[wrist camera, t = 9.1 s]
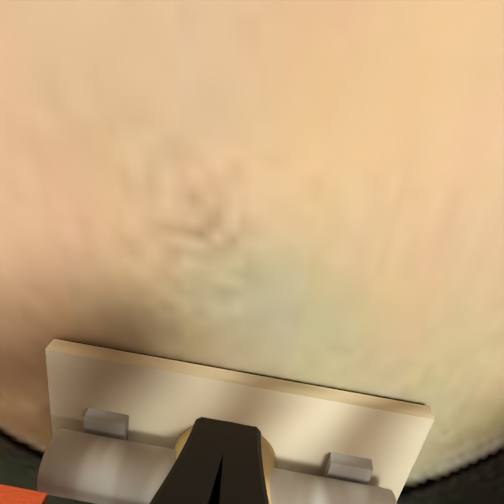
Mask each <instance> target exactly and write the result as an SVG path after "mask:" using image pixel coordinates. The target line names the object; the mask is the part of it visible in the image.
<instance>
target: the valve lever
mask: <svg viewBox="0 0 504 504" xmlns="http://www.w3.org/2000/svg"><path fill="white" fill-rule="evenodd" d="M0 504H48V496H47V493H43V492H38V491H33V490H27V489H22V488H17V487H12V486H7V485H1V484H0Z"/></svg>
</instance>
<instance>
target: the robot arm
mask: <svg viewBox="0 0 504 504" xmlns="http://www.w3.org/2000/svg"><path fill="white" fill-rule="evenodd" d="M149 504H269V500H268V495H267V489H266V483H265V476H264V469H263V461H262V451H261V431H260V430H259V429H258V428H257V427H255V426H249V425H244V424H238V423H233V422H227V421H222V420H216V419H211V418H205V417H200V418H198V419H196V420H195V423H194V425H193V428H192V430H191V432H190V435H189V437H188V439H187V441H186V443H185V445H184V447H183V449H182V450H181V452H180V454H179V456H178V458H177V460H176V461H175V463H174V465H173V466H172V468H171V470H170V472H169V473H168V475H167V477H166V478H165V480H164V481H163V483H162V484H161V486H160V488H159V489H158V491H157V492H156V494H155V495H154V497H153V499H152V500H151V502H150V503H149Z"/></svg>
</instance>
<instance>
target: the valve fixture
mask: <svg viewBox="0 0 504 504" xmlns="http://www.w3.org/2000/svg"><path fill="white" fill-rule="evenodd" d="M45 355H46V367H47V379H48V391H49V403H50V415H51V427H52V439H51V441H50V442H49V444H48V446H47V448H46V450H45V453H44V455H43V458H42V461H41V464H40V468H39V472H38V477H37V489H38V492H43V493H47V495H53V496H58V497H63V498H69V499H74V500H79V501H85V502H90V503H95V504H149V503H150V502H151V500H152V499H153V497H154V495H155V494H156V492H157V491H158V489H159V488H160V486H161V484H162V483H163V481H164V480H165V478H166V477H167V475H168V473H169V472H170V470H171V468H172V466H173V465H174V463H175V461H176V460H177V458H178V456H179V454H180V452H181V450H182V449H183V447H184V445H185V443H186V441H187V439H188V437H189V435H190V432H191V430H192V428H193V425H194V423H195V420H196V419H198V418H200V417H205V418H211V419H216V420H222V421H227V422H233V423H238V424H244V425H249V426H255V427H257V428H258V429H259V430H260V431H261V451H262V461H263V469H264V476H265V483H266V489H267V495H268V500H269V504H397V500H398V498H399V496H400V493H401V491H402V489H403V487H404V485H405V482H406V480H407V478H408V476H409V474H410V471H411V469H412V467H413V465H414V463H415V460H416V458H417V456H418V454H419V452H420V449H421V447H422V445H423V443H424V441H425V439H426V436H427V434H428V432H429V430H430V428H431V425H432V423H433V421H434V418H433V415H432V412H431V409H430V406H425V405H420V404H414V403H409V402H403V401H397V400H392V399H386V398H381V397H375V396H370V395H364V394H359V393H353V392H347V391H342V390H336V389H331V388H325V387H320V386H314V385H309V384H303V383H297V382H292V381H286V380H281V379H275V378H270V377H264V376H259V375H253V374H247V373H242V372H236V371H231V370H225V369H220V368H214V367H208V366H203V365H197V364H192V363H186V362H181V361H175V360H170V359H164V358H158V357H153V356H147V355H142V354H136V353H131V352H125V351H120V350H114V349H108V348H103V347H97V346H92V345H86V344H81V343H75V342H70V341H64V340H58V339H53V340H52V341H51V343H50V344H49V345H48V346H47V347H46V349H45Z"/></svg>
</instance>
